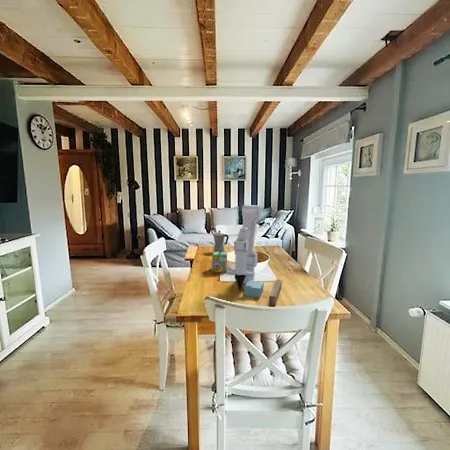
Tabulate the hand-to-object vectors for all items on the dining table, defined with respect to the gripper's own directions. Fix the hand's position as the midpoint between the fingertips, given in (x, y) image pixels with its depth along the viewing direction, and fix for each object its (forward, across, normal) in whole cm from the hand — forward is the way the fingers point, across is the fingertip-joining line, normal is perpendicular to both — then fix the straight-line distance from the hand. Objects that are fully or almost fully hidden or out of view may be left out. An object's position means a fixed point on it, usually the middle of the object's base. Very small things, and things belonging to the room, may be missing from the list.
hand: (240, 288), depth 144 cm
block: (+2, +8, 0) cm, 8 cm away
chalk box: (+2, -22, +29) cm, 36 cm away
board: (+1, +18, 0) cm, 19 cm away
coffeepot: (+2, -37, +75) cm, 83 cm away
